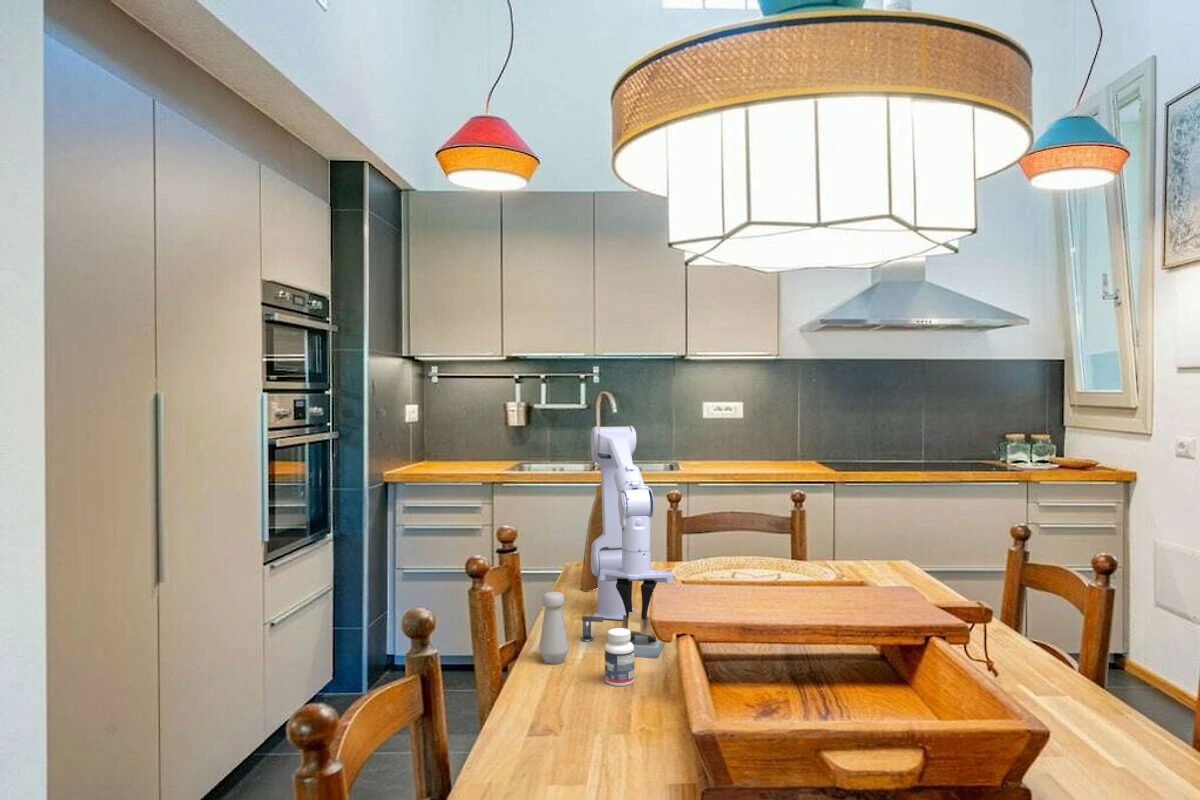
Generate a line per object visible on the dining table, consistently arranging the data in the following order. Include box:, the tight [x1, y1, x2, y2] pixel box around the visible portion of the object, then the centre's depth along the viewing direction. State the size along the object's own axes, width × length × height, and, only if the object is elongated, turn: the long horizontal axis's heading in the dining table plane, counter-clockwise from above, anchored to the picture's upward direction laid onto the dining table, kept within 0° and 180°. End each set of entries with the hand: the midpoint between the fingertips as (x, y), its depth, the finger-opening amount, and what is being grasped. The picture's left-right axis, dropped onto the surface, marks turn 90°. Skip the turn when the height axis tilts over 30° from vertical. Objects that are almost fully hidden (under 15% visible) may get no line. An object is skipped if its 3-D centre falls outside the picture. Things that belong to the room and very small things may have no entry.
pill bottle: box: [604, 627, 635, 687], centre depth 129 cm, size 5×5×9 cm
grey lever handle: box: [580, 615, 604, 643], centre depth 150 cm, size 3×5×5 cm, turn 76°
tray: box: [630, 635, 665, 659], centre depth 147 cm, size 13×10×2 cm
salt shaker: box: [538, 591, 570, 665], centre depth 139 cm, size 6×6×13 cm
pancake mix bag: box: [580, 483, 609, 592], centre depth 196 cm, size 7×19×28 cm, turn 163°
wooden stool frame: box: [621, 611, 656, 641], centre depth 145 cm, size 9×6×4 cm, turn 166°
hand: (636, 617), depth 144 cm, fingers open, 2 cm apart
